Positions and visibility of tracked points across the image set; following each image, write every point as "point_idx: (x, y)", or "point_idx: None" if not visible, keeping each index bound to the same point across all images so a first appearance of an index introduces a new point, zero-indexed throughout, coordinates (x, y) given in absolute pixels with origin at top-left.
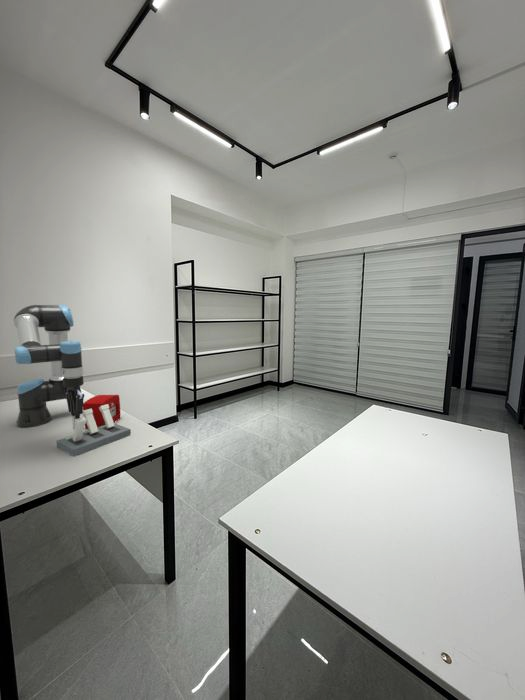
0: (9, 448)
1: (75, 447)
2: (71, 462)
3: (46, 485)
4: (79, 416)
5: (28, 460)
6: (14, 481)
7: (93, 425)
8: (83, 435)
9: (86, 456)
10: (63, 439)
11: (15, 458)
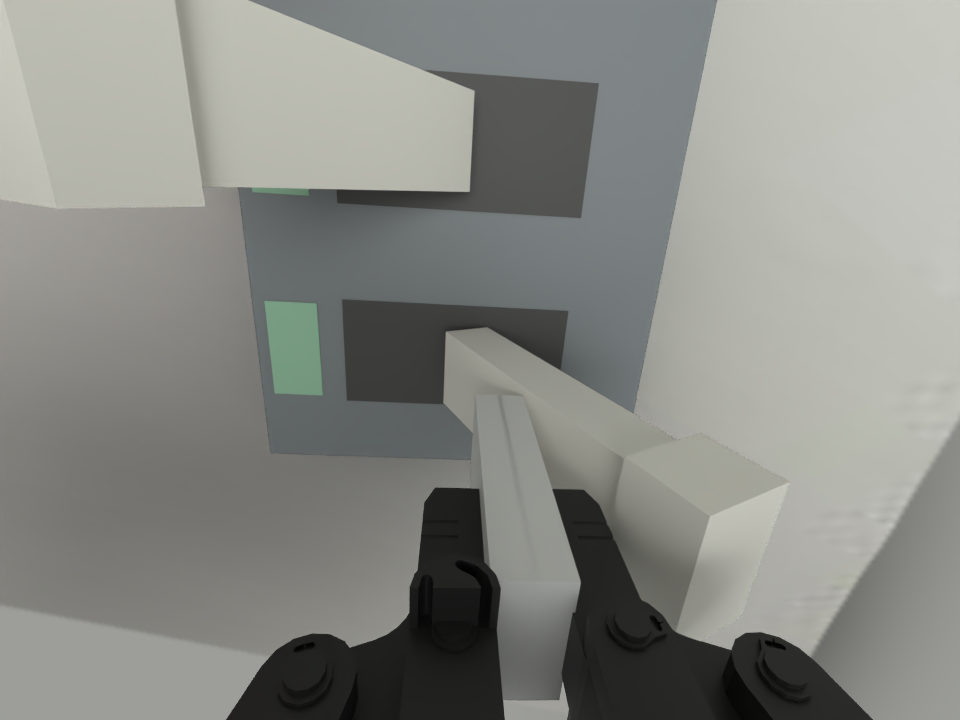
0: (31, 595)
1: None
2: None
3: None
4: (627, 581)
5: (374, 594)
6: None
7: (411, 121)
8: (362, 240)
9: (695, 381)
10: (296, 407)
11: (268, 620)
